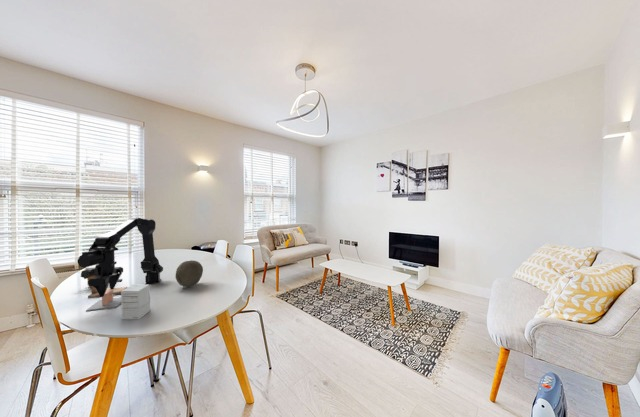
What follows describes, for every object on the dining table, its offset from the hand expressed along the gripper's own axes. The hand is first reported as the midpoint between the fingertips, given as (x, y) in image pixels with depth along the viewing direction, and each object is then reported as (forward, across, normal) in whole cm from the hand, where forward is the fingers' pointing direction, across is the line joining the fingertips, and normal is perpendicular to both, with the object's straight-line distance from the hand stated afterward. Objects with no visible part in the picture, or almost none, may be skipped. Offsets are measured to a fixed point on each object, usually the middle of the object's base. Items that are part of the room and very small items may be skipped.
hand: (107, 292), depth 108 cm
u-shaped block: (+5, 0, 0) cm, 5 cm away
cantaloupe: (+6, -13, +33) cm, 36 cm away
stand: (+6, -16, -6) cm, 18 cm away
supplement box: (+6, +17, +17) cm, 25 cm away
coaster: (+6, 0, 0) cm, 6 cm away
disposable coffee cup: (+6, -31, -18) cm, 36 cm away
